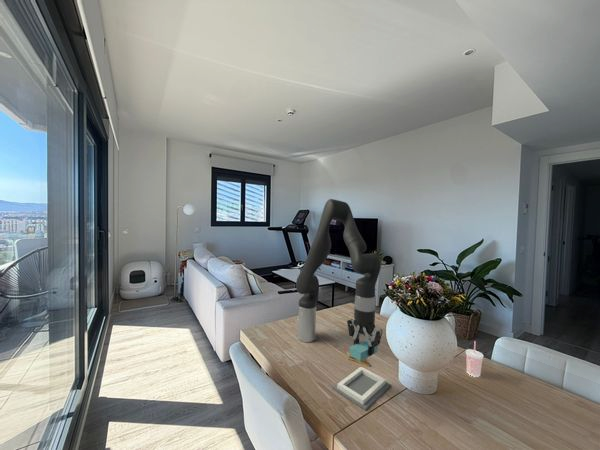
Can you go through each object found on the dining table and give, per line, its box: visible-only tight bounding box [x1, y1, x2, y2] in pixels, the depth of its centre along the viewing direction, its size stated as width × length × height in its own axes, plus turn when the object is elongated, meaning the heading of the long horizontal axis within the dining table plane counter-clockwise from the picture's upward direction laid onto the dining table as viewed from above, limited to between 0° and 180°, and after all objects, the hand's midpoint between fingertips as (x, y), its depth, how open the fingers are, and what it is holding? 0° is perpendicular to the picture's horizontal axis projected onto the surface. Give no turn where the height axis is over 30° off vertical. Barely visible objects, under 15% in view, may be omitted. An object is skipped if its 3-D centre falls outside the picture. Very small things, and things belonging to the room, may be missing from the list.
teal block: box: [348, 339, 378, 361], centre depth 93 cm, size 10×5×3 cm, turn 128°
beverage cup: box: [465, 340, 484, 378], centre depth 103 cm, size 6×6×14 cm
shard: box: [346, 350, 371, 367], centre depth 111 cm, size 11×8×2 cm
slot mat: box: [331, 366, 392, 411], centre depth 93 cm, size 14×18×2 cm
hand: (363, 351), depth 93 cm, fingers closed on teal block, 5 cm apart
